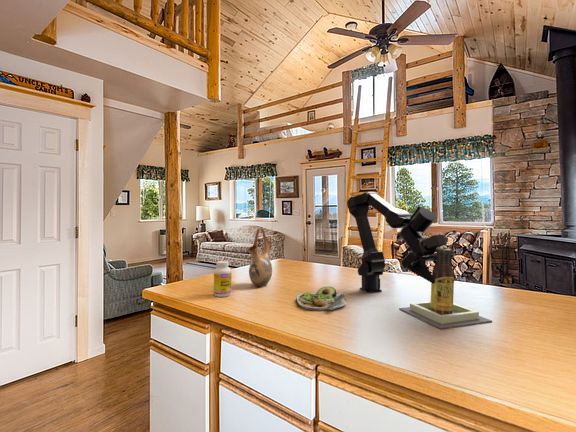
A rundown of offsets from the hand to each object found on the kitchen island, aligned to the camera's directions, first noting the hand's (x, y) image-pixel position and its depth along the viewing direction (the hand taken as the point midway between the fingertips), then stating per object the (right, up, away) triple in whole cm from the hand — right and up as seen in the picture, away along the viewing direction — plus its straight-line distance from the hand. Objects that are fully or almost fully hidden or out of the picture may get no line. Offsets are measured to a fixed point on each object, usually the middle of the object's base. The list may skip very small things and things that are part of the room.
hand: (444, 281), depth 97 cm
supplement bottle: (-73, -11, +26) cm, 78 cm away
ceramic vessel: (-59, -10, +41) cm, 72 cm away
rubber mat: (0, -11, +1) cm, 11 cm away
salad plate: (-36, -11, +15) cm, 40 cm away
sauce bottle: (0, -10, +1) cm, 10 cm away
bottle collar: (0, -11, +1) cm, 11 cm away
